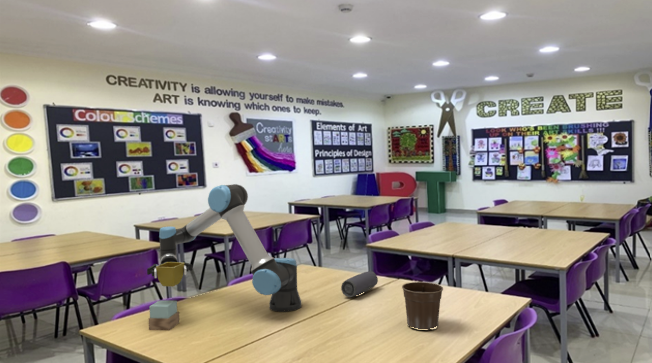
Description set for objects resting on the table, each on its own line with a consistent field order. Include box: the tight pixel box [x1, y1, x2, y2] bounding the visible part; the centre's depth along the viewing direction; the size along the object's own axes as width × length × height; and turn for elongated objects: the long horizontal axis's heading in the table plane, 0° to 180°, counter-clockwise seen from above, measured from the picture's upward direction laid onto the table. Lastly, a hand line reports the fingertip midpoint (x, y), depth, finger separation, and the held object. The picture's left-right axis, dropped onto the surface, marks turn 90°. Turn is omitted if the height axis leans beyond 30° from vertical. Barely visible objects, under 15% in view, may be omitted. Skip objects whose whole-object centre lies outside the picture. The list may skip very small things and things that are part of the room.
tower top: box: [149, 300, 178, 318], centre depth 188 cm, size 8×8×5 cm
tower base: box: [148, 311, 180, 331], centre depth 188 cm, size 9×9×5 cm
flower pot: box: [156, 261, 184, 288], centre depth 191 cm, size 9×9×9 cm
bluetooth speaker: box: [340, 270, 379, 298], centre depth 228 cm, size 23×9×10 cm, turn 144°
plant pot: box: [401, 281, 444, 329], centre depth 180 cm, size 16×16×16 cm
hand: (170, 273), depth 187 cm, fingers closed on flower pot, 11 cm apart
